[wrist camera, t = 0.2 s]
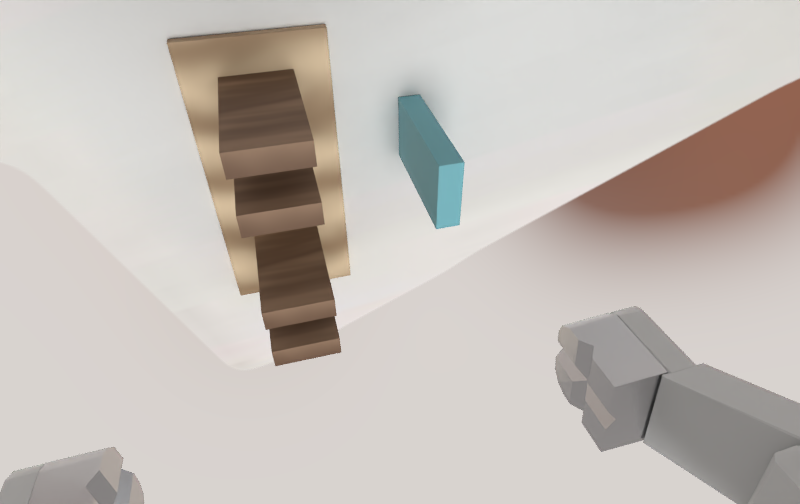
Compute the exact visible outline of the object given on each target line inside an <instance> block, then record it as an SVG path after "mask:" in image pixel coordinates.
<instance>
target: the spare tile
mask: <svg viewBox="0 0 800 504" xmlns="http://www.w3.org/2000/svg"><path fill="white" fill-rule="evenodd" d="M398 105H399V156H400V158H401V160H402V162H403V164H404V166H405V168H406V170H407V172H408V174H409V176H410V178H411V180H412V182H413V184H414V186H415V188H416V190H417V192H418V194H419V196H420V198H421V200H422V202H423V204H424V206H425V208H426V210H427V212H428V214H429V216H430V218H431V220H432V222H433V224H434V226H435V227H436V229H439V228H445V227H451V226H457V225H459V224H460V212H461V200H462V187H463V175H464V161H463V159H462V158H461V156H460V155H459V153H458V152H457V150H456V149H455V147H454V146H453V144H452V143H451V141H450V140H449V138H448V137H447V135H446V134H445V132H444V131H443V129H442V128H441V126H440V125H439V123H438V122H437V120H436V118H435V117H434V115H433V114H432V112H431V111H430V109H429V108H428V106H427V105H426V103H425V102H424V100H423V99H422V97H421V96H420V95H412V96H404V97H398Z"/></svg>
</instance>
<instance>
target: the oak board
mask: <svg viewBox="0 0 800 504" xmlns="http://www.w3.org/2000/svg"><path fill="white" fill-rule="evenodd" d="M167 45H168V48H169V52H170V55H171V59H172V62H173V65H174V69H175V72H176V76H177V79H178V82H179V86H180V89H181V93H182V96H183V100H184V103H185V106H186V110H187V113H188V117H189V120H190V123H191V127H192V130H193V134H194V137H195V141H196V144H197V147H198V151H199V154H200V158H201V161H202V164H203V168H204V171H205V175H206V178H207V181H208V185H209V188H210V192H211V195H212V199H213V202H214V205H215V209H216V212H217V216H218V219H219V222H220V226H221V229H222V233H223V236H224V240H225V243H226V246H227V250H228V253H229V257H230V260H231V263H232V267H233V270H234V274H235V277H236V281H237V284H238V287H239V291H240V294H241V295H246V294H251V293H256V292H260V291H259V280H258V269H257V259H256V248H255V237H254V236H253V237H247V238H241V234H240V230H239V226H238V222H237V219H236V210H235V192H234V179H229V180H226V177H225V173H224V170H223V166H222V162H221V158H220V154H219V118H218V77H224V76H233V75H242V74H251V73H260V72H269V71H278V70H287V69H294V72H295V76H296V79H297V83H298V86H299V90H300V93H301V97H302V100H303V104H304V107H305V111H306V115H307V118H308V122H309V125H310V129H311V132H312V136H313V139H314V146H315V153H316V161H317V167H313V170H314V174H315V178H316V182H317V186H318V190H319V193H320V197H321V201H322V207H323V215H324V223H325V225H319V226H317V228H318V232H319V236H320V241H321V245H322V249H323V253H324V258H325V262H326V266H327V270H328V274H329V279H332V278H337V277H343V276H348V275H350V266H349V255H348V245H347V235H346V224H345V214H344V204H343V193H342V183H341V173H340V162H339V152H338V142H337V132H336V121H335V111H334V101H333V90H332V80H331V70H330V59H329V49H328V39H327V29H326V25H325V24H320V25H310V26H300V27H289V28H279V29H269V30H259V31H248V32H238V33H228V34H217V35H207V36H197V37H186V38H176V39H168V40H167Z"/></svg>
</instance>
